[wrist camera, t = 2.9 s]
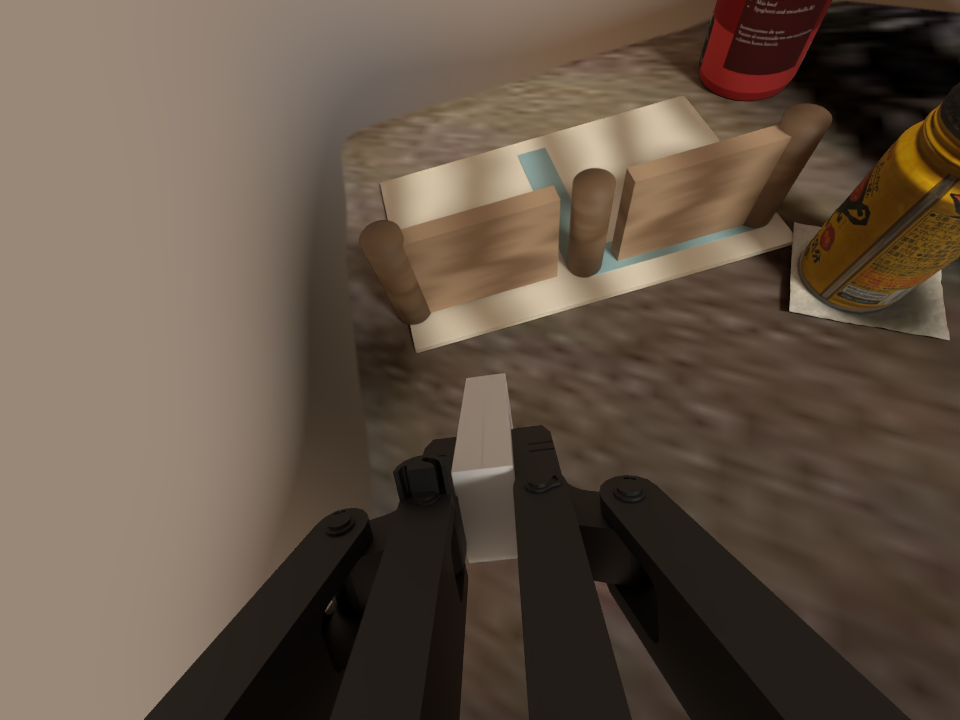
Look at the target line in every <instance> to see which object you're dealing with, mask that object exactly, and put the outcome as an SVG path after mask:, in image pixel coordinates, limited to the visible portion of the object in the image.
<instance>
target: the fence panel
mask: <svg viewBox="0 0 960 720" xmlns="http://www.w3.org/2000/svg"><path fill="white" fill-rule="evenodd" d="M559 223H560V198H559V196H558V194H557V192H556V189H555V187H554V185H553V186H549V187H546V188H542V189H539V190H535V191H532V192H528V193H525V194H522V195H518V196H515V197H511V198H508V199H504V200H501V201H497V202H494V203H490V204H487V205H483V206H480V207H477V208H473V209H470V210H466V211H463V212H459V213H456V214H452V215H449V216H445V217H442V218H438V219H435V220H432V221H428V222H425V223H421V224H418V225H414V226H411V227H407V228H404V229H400V227H399V226H398V225H397V224H396V223H395V222H393V221H389V220H380V221H376V222H374V223H371V224H370V225H368V226H367V227H366V228H365V229H364V230H363V231H362V233H361V235H360V238H359V243H360V246H361V248H362V250H363V252H364V253H365V255H366V257H367V259H368V261H369V263H370V264H371V266H372V268H373V270H374V272H375V274H376V275H377V277H378V279H379V281H380V283H381V285H382V286H383V288H384V290H385V292H386V294H387V296H388V297H389V299H390V301H391V303H392V305H393V307H394V308H395V310H396V312H397V314H398V316H399V318H400V319H401V320H402V321H403V322H404V323H406V324H409V325H416V324H420V323H422V322H424V321H425V320H426V319H427V318H428V317H429V316H430V314H431V313H432V312H436V311H439V310H443V309H446V308H450V307H453V306H457V305H460V304H464V303H467V302H471V301H474V300H477V299H481V298H484V297H488V296H491V295H495V294H498V293H502V292H505V291H509V290H512V289H516V288H519V287H523V286H526V285H529V284H533V283H536V282H540V281H543V280H547V279H550V278H554V277H557V271H558V247H559Z"/></svg>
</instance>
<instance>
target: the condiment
mask: <svg viewBox="0 0 960 720" xmlns="http://www.w3.org/2000/svg"><path fill="white" fill-rule="evenodd" d="M959 256H960V82H959V83H958V84H957V85H956V86H954V87H953V88H952V89H951V91H950V93H949V94H948V95H947V96H946V98H945V99H944V100H943V102H942V103H941V104H940V105H939V106H938V107H937V108H935V109H934V110H932V111H931V112H930V113H929V115H928V116H927V117H926V119H925V120H924V121H921V122H919V123H917V124H915V125H913V126H911V127H910V128H909V129H907V130H906V131H905V132H904V133H903V134H902V135H901V136H900V137H899V138H898V140H897V141H896V142H895V143H894V144H893V145H892V146H891V147H890V148H889V149H888V151H887V152H886V153H885V154H884V156H883V157H882V158H881V159H880V160H879V161H878V162H877V164H876V165H875V166H874V167H873V169H872V170H871V171H870V172H869V173H868V174H867V176H866V177H865V178H864V179H863V180H862V181H861V183H860V184H859V185H858V186H857V187H856V188H855V190H854V191H853V192H852V193H851V194H850V196H849V197H848V198H847V199H846V200H845V201H844V202H843V203H842V205H841V206H840V207H839V208H838V209H836V210H835V212H834V213H833V214H832V216H831V217H830V218H829V219H828V220H827V221H826V222H825V223H824V225H823V226H822V227H819V226H810V225H805V224H799V223H797V222H794V234H793V244H792V258H791V279H790V290H791V292H790V308H789V311H791V312H796V313H801V314H806V315H811V316H815V317H820V318H827V319H832V320H835V321H841V322H846V323H853V324H858V325H866V326H870V327H881V328H886V329H889V330H894V331H900V332H904V333H909V334H915V335H924V336H932V337H936V338H941V339H946V340H950V337H949V330H948V328H947V321H946V315H945V306H944V302H943V290H942V285H941V283H940V282H941V269H943V268H944V267H945V266H947V265H948V264H950V263H951V262H952V261H954V260H955V259H957V258H958V257H959Z"/></svg>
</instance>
